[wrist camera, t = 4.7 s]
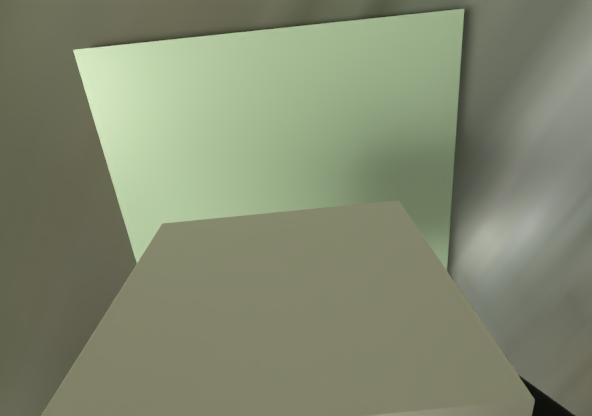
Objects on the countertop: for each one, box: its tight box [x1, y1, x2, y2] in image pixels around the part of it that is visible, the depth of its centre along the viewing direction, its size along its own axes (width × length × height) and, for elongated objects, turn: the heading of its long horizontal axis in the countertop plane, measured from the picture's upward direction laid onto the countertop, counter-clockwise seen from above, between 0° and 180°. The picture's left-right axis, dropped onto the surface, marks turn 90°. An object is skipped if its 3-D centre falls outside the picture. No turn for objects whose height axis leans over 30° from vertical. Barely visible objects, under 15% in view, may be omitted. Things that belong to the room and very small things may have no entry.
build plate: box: [73, 9, 464, 270], centre depth 15 cm, size 12×12×1 cm
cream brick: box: [41, 200, 535, 416], centre depth 7 cm, size 5×5×5 cm
